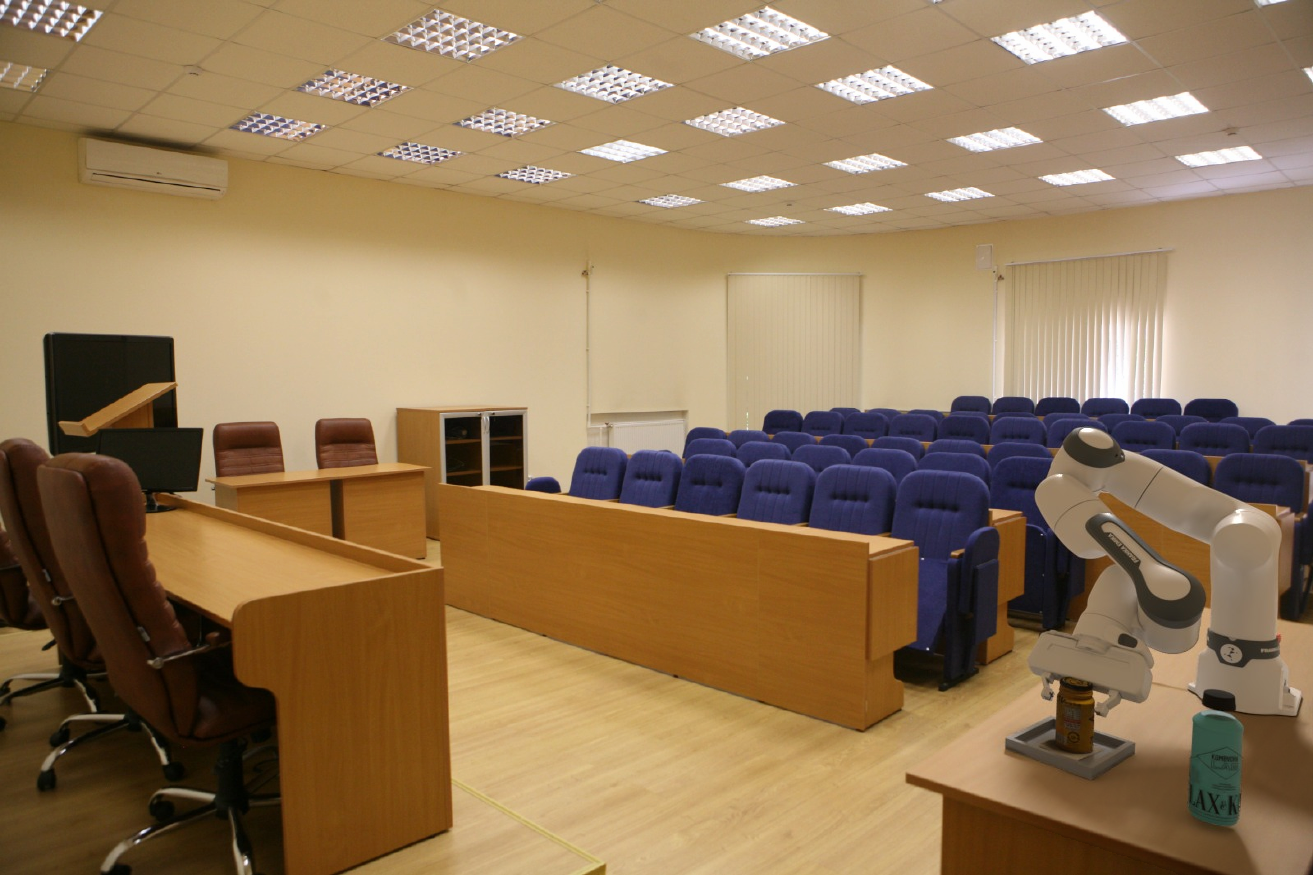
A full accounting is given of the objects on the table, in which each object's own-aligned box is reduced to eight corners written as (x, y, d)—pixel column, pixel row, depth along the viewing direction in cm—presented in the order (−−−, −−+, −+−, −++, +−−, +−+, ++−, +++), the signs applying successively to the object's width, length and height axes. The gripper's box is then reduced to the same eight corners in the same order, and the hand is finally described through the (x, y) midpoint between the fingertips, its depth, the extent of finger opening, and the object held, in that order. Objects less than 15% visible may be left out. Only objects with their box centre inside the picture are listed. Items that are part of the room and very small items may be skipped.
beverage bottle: (1176, 814, 125) (1181, 684, 124) (1217, 812, 126) (1222, 683, 124) (1208, 838, 119) (1214, 701, 117) (1252, 836, 119) (1258, 699, 118)
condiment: (1104, 749, 146) (1106, 683, 145) (1077, 762, 141) (1079, 693, 141) (1064, 735, 152) (1066, 671, 151) (1037, 746, 148) (1038, 680, 147)
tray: (1050, 726, 158) (1050, 715, 158) (1134, 753, 146) (1135, 742, 146) (1005, 748, 148) (1005, 737, 148) (1091, 780, 136) (1091, 768, 136)
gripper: (1038, 618, 158) (1009, 680, 153) (1154, 644, 142) (1127, 714, 137) (1049, 637, 161) (1021, 698, 156) (1164, 664, 145) (1138, 734, 140)
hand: (1072, 706), depth 146 cm, fingers open, 8 cm apart
